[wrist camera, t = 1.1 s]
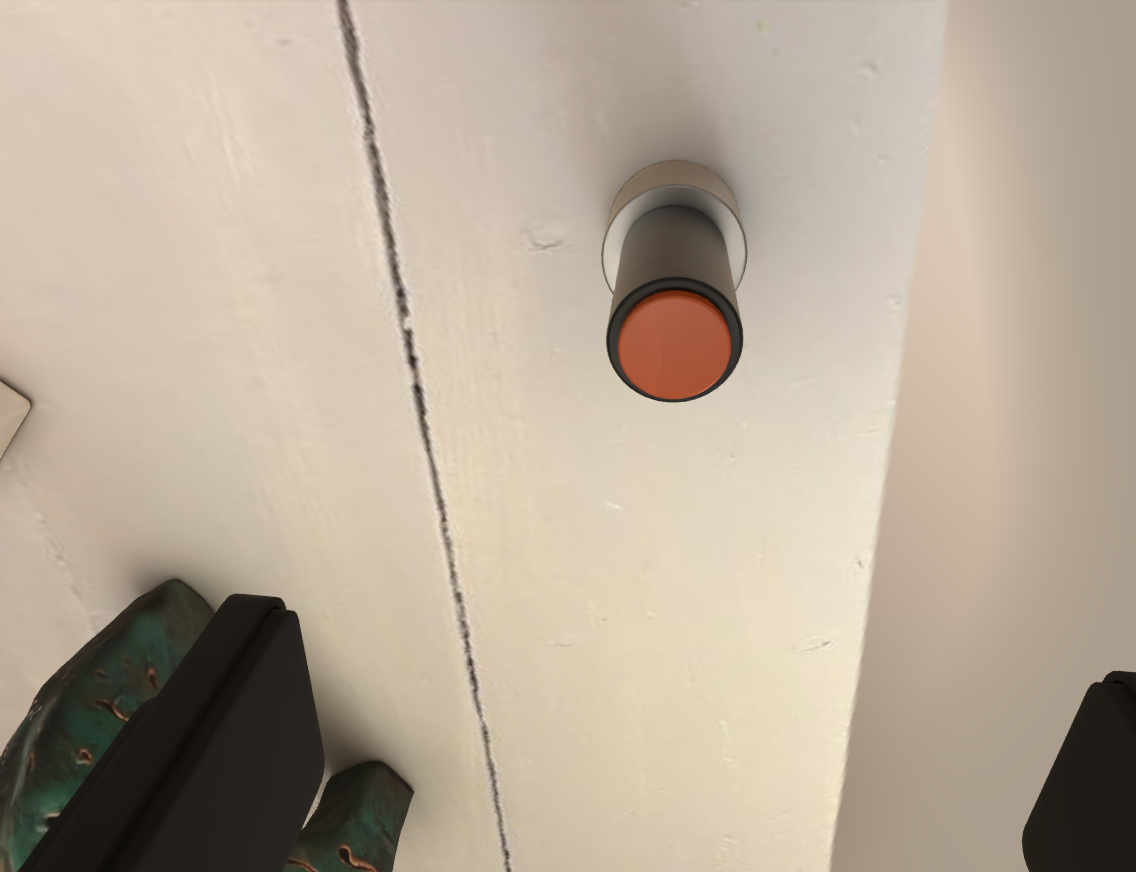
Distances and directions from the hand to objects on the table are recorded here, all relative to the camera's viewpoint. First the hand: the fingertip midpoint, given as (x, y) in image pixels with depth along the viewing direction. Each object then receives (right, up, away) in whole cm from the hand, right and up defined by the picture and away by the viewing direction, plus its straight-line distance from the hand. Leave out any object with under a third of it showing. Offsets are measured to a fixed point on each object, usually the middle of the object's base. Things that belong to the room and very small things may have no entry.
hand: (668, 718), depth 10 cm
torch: (+2, +11, +18) cm, 21 cm away
